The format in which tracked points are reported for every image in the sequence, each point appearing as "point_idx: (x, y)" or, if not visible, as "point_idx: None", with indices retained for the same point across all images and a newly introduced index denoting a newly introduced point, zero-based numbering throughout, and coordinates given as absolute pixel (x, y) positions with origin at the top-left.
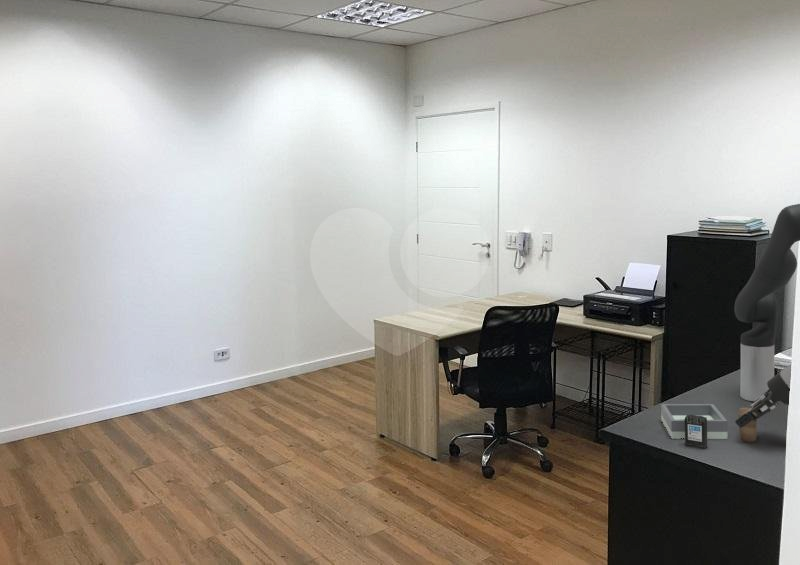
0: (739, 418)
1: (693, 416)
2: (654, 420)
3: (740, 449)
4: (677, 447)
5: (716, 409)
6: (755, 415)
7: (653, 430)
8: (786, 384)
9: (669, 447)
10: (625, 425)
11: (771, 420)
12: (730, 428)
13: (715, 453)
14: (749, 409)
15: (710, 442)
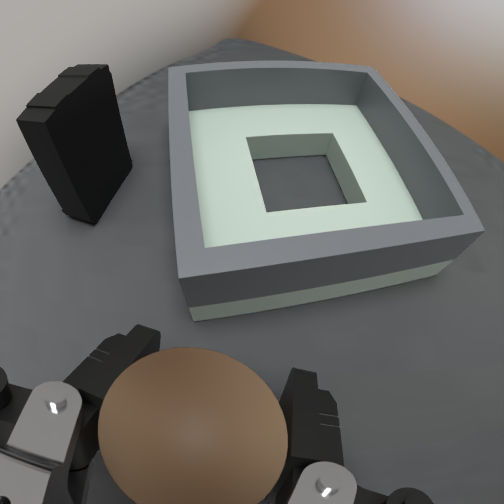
0: (117, 347)
1: (70, 80)
2: None
3: (62, 359)
4: None
5: (414, 235)
6: (83, 479)
7: None
8: None
9: None
10: (277, 56)
11: (496, 499)
12: (369, 348)
13: (28, 250)
14: (222, 459)
15: (140, 242)
